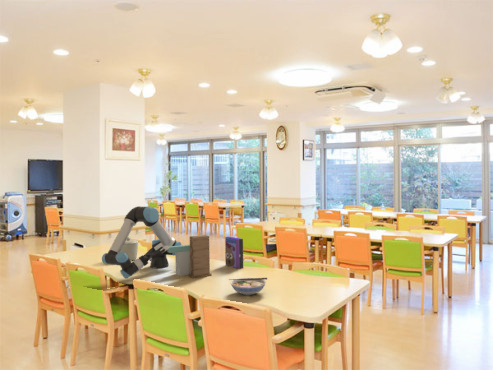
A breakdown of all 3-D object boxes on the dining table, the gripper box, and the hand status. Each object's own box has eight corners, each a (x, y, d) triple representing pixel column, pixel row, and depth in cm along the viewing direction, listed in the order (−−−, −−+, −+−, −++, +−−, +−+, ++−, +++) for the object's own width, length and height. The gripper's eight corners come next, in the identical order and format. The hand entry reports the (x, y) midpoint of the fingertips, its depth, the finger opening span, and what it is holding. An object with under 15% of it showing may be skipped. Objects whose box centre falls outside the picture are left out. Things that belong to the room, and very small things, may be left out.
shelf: (175, 273, 313) (175, 250, 312) (199, 270, 323) (199, 248, 323) (179, 276, 306) (179, 252, 306) (203, 272, 316) (203, 249, 316)
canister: (120, 263, 356) (120, 239, 355) (116, 259, 371) (116, 236, 371) (141, 260, 364) (141, 237, 364) (136, 257, 380) (135, 235, 380)
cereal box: (225, 265, 341) (225, 237, 340) (230, 264, 344) (229, 236, 343) (238, 268, 328) (238, 239, 327) (243, 267, 331) (242, 238, 330)
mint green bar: (167, 252, 307) (167, 246, 307) (196, 249, 319) (196, 243, 319) (169, 252, 304) (169, 247, 304) (198, 249, 316) (198, 244, 316)
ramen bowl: (227, 299, 246) (227, 286, 246) (229, 289, 269) (229, 276, 269) (269, 299, 246) (268, 285, 246) (266, 288, 269) (266, 276, 269)
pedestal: (188, 275, 306) (187, 236, 306) (206, 273, 314) (205, 234, 313) (193, 278, 299) (192, 237, 298) (211, 275, 306) (210, 236, 306)
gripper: (138, 263, 306) (161, 247, 316) (148, 269, 285) (173, 251, 294) (133, 255, 304) (157, 239, 314) (143, 261, 283) (168, 243, 292)
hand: (165, 245), depth 304 cm, fingers open, 13 cm apart
